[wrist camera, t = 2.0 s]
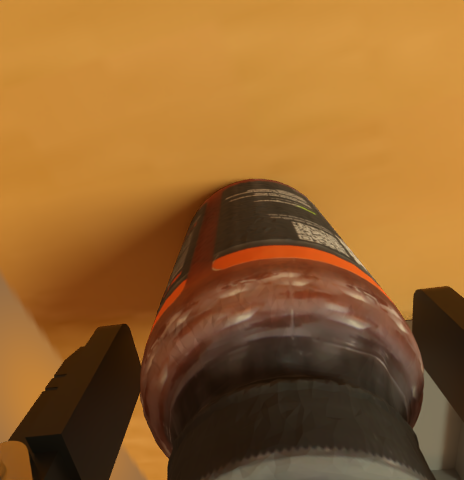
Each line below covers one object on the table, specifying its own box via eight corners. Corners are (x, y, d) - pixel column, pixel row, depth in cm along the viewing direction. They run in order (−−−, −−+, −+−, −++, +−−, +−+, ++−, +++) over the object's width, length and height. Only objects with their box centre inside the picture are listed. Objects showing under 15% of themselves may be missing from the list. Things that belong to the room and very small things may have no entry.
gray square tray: (268, 335, 17) (272, 364, 15) (479, 312, 16) (511, 339, 14) (286, 472, 20) (291, 509, 18) (458, 458, 20) (482, 495, 18)
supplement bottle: (203, 308, 16) (137, 684, 6) (175, 187, 14) (-14, 427, 4) (328, 291, 16) (512, 665, 5) (319, 163, 14) (598, 359, 3)
